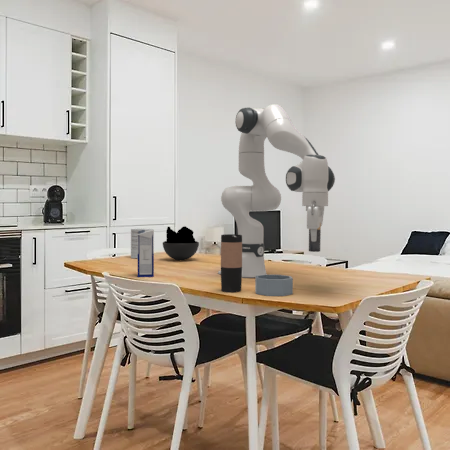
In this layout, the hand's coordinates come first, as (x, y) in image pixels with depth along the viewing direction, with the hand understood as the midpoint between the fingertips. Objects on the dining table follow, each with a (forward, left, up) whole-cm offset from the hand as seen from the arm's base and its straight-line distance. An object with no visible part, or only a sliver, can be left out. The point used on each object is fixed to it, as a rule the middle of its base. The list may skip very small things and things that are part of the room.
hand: (314, 240), depth 172 cm
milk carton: (-74, -19, -19) cm, 79 cm away
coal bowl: (-110, +30, -19) cm, 115 cm away
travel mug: (-23, -18, -19) cm, 35 cm away
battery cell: (0, 0, -4) cm, 4 cm away
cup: (-10, -10, -18) cm, 23 cm away
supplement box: (-134, +21, -19) cm, 137 cm away
